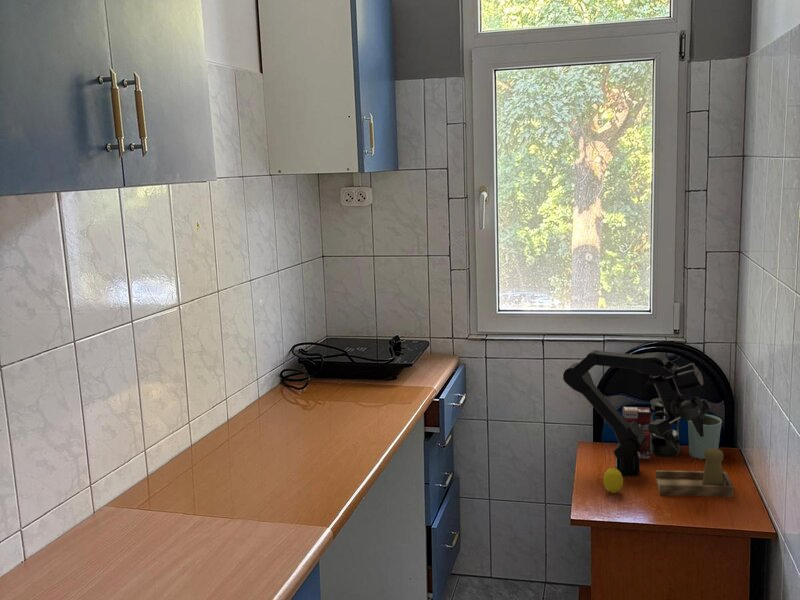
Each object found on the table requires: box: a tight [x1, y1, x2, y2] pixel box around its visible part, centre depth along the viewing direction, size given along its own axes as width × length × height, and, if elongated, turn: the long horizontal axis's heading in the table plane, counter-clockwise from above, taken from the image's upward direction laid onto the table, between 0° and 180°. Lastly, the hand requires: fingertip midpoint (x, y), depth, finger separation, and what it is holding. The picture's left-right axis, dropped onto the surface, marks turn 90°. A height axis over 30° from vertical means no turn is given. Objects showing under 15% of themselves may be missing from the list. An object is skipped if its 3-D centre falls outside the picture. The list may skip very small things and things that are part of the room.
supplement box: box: [622, 406, 652, 460], centre depth 255 cm, size 9×5×16 cm, turn 77°
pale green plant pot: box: [687, 413, 723, 460], centre depth 253 cm, size 10×10×12 cm
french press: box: [649, 397, 681, 458], centre depth 257 cm, size 12×9×23 cm
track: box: [655, 469, 735, 498], centre depth 232 cm, size 20×10×3 cm, turn 79°
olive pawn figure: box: [702, 448, 724, 486], centre depth 230 cm, size 6×6×11 cm
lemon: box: [602, 467, 624, 494], centre depth 231 cm, size 6×6×8 cm
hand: (690, 443), depth 234 cm, fingers open, 9 cm apart
